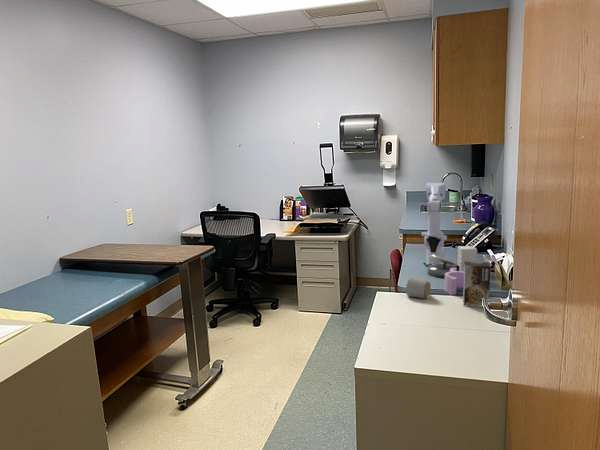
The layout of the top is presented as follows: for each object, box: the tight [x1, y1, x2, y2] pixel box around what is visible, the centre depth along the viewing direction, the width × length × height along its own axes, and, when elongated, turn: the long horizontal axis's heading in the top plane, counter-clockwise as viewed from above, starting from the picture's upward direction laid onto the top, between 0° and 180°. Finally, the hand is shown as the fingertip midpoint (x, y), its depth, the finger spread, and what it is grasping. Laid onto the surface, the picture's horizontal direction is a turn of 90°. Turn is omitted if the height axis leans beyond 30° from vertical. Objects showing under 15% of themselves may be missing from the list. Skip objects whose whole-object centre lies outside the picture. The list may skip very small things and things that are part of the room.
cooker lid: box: [429, 255, 458, 267], centre depth 209 cm, size 14×14×2 cm
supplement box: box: [457, 245, 478, 272], centre depth 212 cm, size 7×7×13 cm
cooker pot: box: [424, 263, 460, 279], centre depth 209 cm, size 14×18×4 cm
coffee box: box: [462, 261, 492, 308], centre depth 164 cm, size 9×6×16 cm
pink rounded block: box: [443, 267, 464, 296], centre depth 185 cm, size 20×12×7 cm, turn 162°
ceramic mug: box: [405, 277, 431, 299], centre depth 176 cm, size 11×8×8 cm
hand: (433, 252), depth 213 cm, fingers closed
